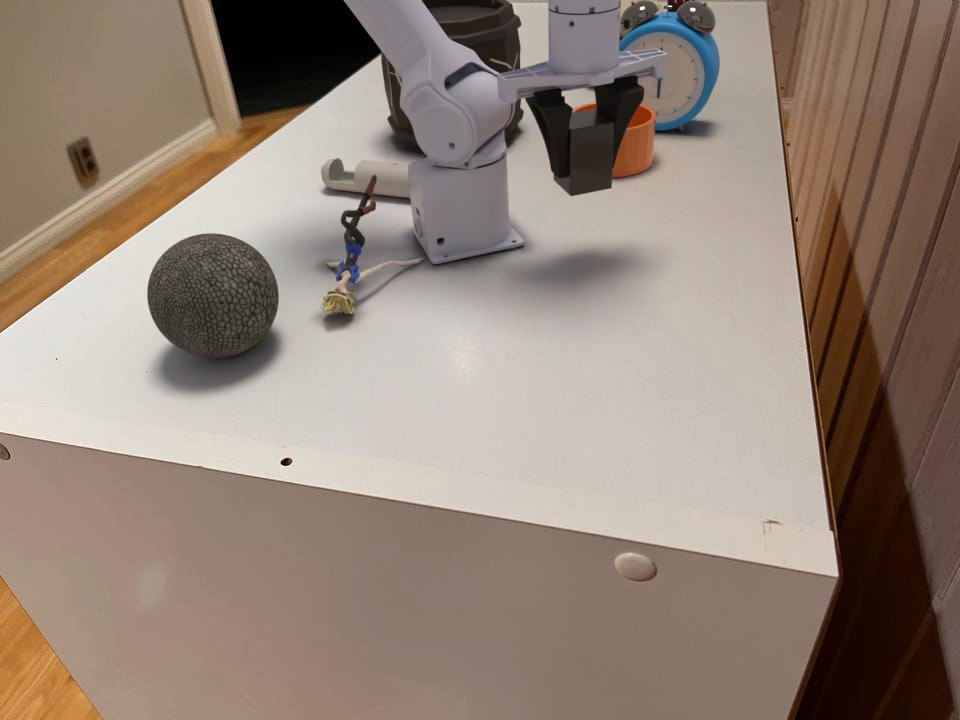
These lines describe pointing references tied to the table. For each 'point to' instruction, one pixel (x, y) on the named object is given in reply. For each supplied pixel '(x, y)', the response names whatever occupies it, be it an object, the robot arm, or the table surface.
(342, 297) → the figurine
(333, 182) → the white notched cylinder
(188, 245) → the decorative ball
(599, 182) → the block
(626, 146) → the cup
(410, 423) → the table surface
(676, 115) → the alarm clock
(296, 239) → the table surface
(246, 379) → the table surface
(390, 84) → the wooden barrel
